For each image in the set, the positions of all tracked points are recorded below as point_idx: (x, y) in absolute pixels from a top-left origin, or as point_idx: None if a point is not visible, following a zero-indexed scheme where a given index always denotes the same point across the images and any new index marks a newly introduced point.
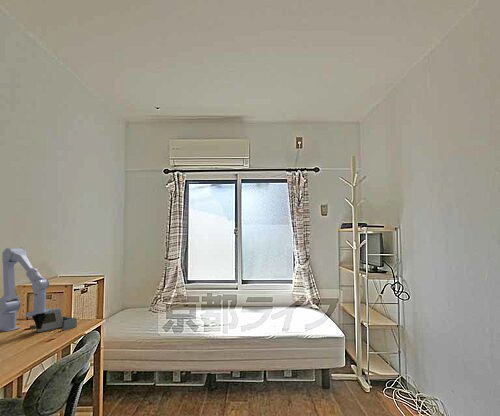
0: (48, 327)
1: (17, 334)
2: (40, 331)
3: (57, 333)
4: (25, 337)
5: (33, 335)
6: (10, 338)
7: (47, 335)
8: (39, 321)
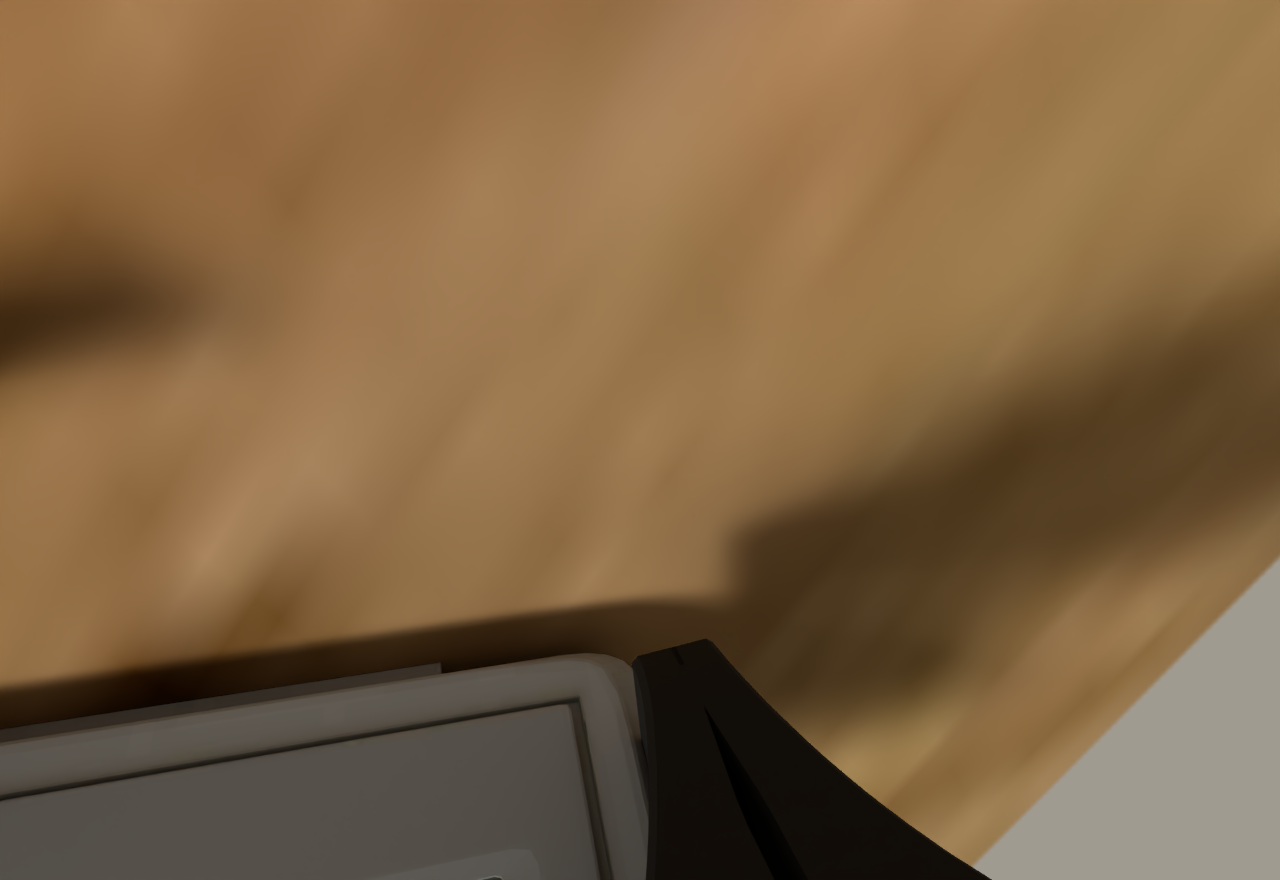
0: (275, 760)
1: (891, 778)
2: (567, 655)
3: (271, 96)
4: (1053, 452)
5: (848, 491)
6: (1168, 591)
7: (689, 153)
8: (898, 829)
